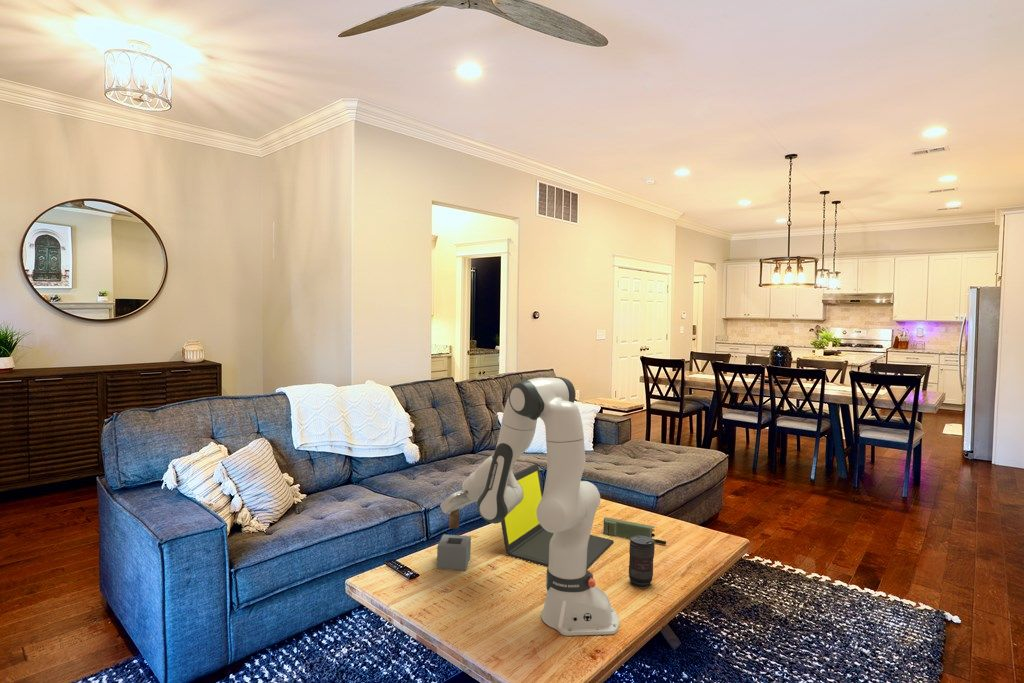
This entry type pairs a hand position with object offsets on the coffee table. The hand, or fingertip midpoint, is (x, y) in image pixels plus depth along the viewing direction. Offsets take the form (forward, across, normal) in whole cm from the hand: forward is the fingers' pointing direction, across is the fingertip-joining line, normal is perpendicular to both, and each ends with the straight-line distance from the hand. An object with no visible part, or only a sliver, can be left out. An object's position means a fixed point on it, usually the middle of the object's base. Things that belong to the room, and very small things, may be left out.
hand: (453, 510), depth 198 cm
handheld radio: (-16, +61, -44) cm, 77 cm away
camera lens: (-28, +28, -55) cm, 68 cm away
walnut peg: (+4, 0, -5) cm, 6 cm away
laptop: (-1, +35, -29) cm, 45 cm away
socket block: (+13, 0, -14) cm, 19 cm away
